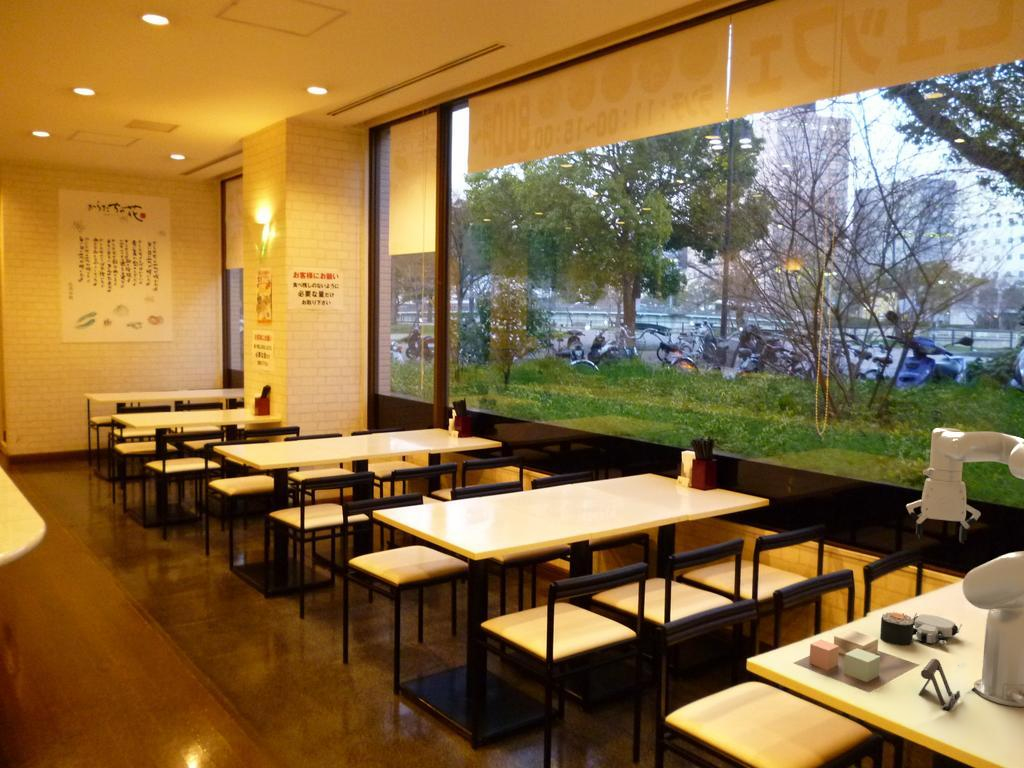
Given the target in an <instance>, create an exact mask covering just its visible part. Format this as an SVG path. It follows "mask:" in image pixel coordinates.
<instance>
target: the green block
mask: <svg viewBox="0 0 1024 768" xmlns="http://www.w3.org/2000/svg"><path fill="white" fill-rule="evenodd" d="M879 670H880V656H878V655H875V654H872V653H870V652H867V651H864V650H861V649H858V648H856V649H854V650H852V651H850V652H848V653H846V654H845V661H844V674H847V675H850V676H852V677H855V678H857V679H860V680H863V681H865V682H868V681H870V680H872V679H874V678H876V677H878V676H879Z"/></svg>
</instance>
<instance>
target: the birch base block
mask: <svg viewBox="0 0 1024 768" xmlns="http://www.w3.org/2000/svg"><path fill="white" fill-rule="evenodd" d="M833 644H835V645H838V646H839V653H842V654H844V655H845V654H846V653H848V652H850V651H852V650H854V649H856V648H858V649H861V650H864V651H867V652H870V653H872V654H877V652H878V651H879V638H877V637H874V636H871V635H868V634H865V633H863V632H859V631H856V630H853V629H851V628H850V629H847V630H845V631H843V632H841V633H838V634H836V635H834V637H833Z"/></svg>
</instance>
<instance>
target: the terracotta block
mask: <svg viewBox="0 0 1024 768" xmlns="http://www.w3.org/2000/svg"><path fill="white" fill-rule="evenodd" d="M809 647H810V649H809V656H810V662H809V663H811V664H813V665H816V666H819V667H821V668H824V669H827V670H828V669H830V668H833V667H835V666H837V665H838V656H839V646H838V645H835V644H834V643H832V642H829V641H826V640H822V639H820V640H816V641H815V642H812V643H810V646H809Z"/></svg>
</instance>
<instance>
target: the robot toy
mask: <svg viewBox="0 0 1024 768" xmlns="http://www.w3.org/2000/svg"><path fill="white" fill-rule="evenodd" d="M913 619H914V625H913V636H915V635H916V638H917V640H918V641H920V642H925V643H927V644H932V643H933V644H935V643H936V642H937V641H938V643H939V644H940V645H947V643H948V642H947V639H946V638H945V637H947V638H952V637H954V636H956V635H957V634H959V632H960V629H961V627H962V626H963V624H962V623H960V626H959V627H958V626H957V625H956V623H955V621H954V622H953V620H950V619H948V618H944V617H941V616H938V615H934V614H933V615H932V614H918V612H915V613H914V615H913Z"/></svg>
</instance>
